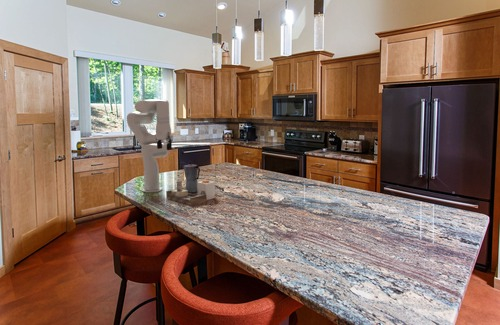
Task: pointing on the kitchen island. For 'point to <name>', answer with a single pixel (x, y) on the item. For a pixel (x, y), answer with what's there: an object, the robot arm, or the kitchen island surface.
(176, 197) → the rail bed
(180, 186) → the square knob plate
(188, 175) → the moka pot
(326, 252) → the kitchen island surface
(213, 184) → the white knob block
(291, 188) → the kitchen island surface
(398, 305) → the kitchen island surface
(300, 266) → the kitchen island surface
